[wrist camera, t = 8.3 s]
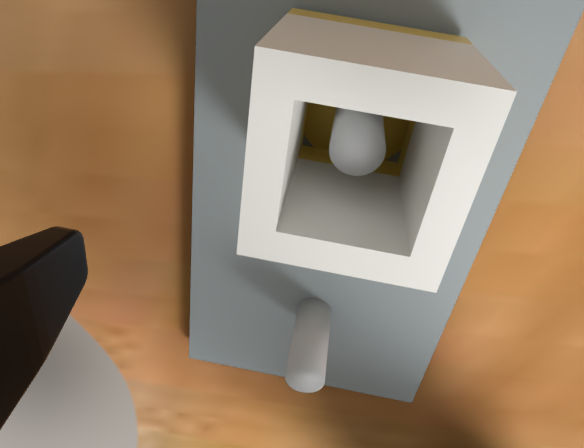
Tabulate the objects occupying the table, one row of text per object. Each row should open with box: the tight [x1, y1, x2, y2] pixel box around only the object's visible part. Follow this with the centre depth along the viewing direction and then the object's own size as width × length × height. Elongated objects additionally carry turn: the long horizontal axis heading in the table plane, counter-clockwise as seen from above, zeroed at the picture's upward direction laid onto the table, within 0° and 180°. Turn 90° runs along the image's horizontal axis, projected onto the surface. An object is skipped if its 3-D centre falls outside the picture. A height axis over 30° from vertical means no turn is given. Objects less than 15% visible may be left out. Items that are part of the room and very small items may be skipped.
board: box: [189, 0, 584, 403], centre depth 18 cm, size 20×12×5 cm, turn 172°
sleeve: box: [237, 8, 517, 293], centre depth 14 cm, size 6×6×6 cm
